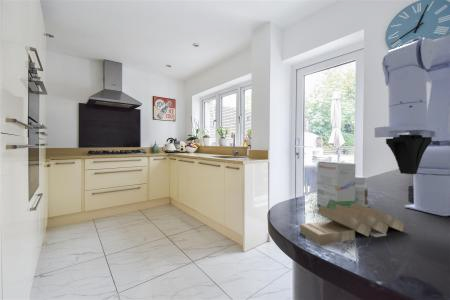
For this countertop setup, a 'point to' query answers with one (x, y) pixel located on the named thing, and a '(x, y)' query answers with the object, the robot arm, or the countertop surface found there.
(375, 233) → the plate
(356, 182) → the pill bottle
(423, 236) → the countertop surface
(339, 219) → the tile
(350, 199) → the ink box
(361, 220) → the tile
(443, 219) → the countertop surface
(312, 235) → the tile
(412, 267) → the countertop surface
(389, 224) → the tile
